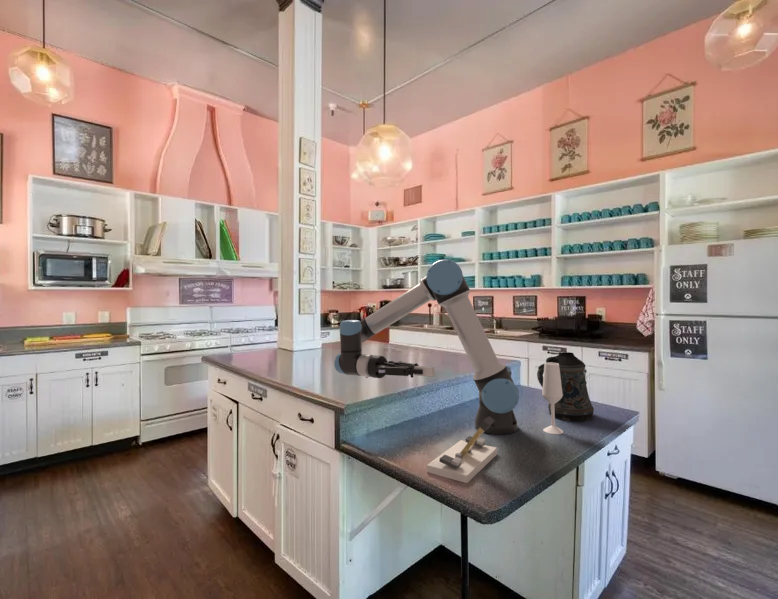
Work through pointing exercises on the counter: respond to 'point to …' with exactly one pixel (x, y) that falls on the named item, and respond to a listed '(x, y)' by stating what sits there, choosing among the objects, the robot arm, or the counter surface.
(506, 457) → the counter surface
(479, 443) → the block
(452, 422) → the counter surface
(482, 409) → the robot arm
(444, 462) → the block
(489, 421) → the brass lever
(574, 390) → the beer stein
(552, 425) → the champagne flute
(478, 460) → the switch panel
